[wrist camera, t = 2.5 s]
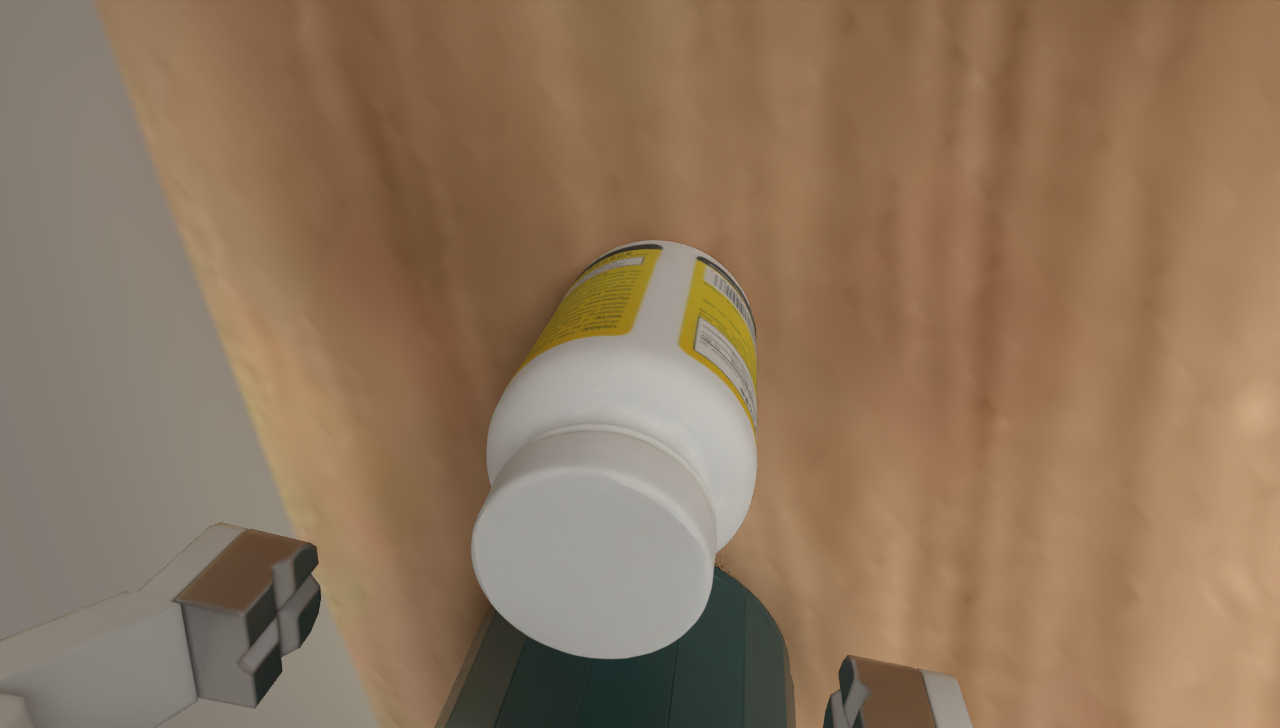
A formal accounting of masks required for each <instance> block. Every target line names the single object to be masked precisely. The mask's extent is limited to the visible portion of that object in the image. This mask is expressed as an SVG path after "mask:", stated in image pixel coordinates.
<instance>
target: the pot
mask: <svg viewBox="0 0 1280 728" xmlns="http://www.w3.org/2000/svg"><path fill="white" fill-rule="evenodd" d="M434 728H796V719H795V702H794V685H793V681H792V677H791V673H790V664H789V657H788V651H787V648H786V645H785V642H784V639H783V636H782V634H781V632H780V630H779V628H778V626H777V624H776V622H775V621H774V619H773V618H772V616H771V615H770V614H769V612H768V611H767V610H766V608H765V607H764V605H763V604H762V603H761V602H760V601H759V600H758V599H757V598H756V597H755V596H754V595H753V594H752V593H751V592H750V591H749V590H748V589H746V588H745V587H744V586H743V585H742V584H740V583H739V582H738V581H737V580H735V579H734V578H732V577H731V576H729V575H728V574H726V573H725V572H723V571H722V570H720V569H718V568H717V567H715V566H714V572H713V582H712V589H711V592H710V595H709V599H708V602H707V604H706V607H705V609H704V611H703V612H702V614H701V616H700V617H699V619H698V620H697V622H696V623H695V624H694V625H693V626H692V627H691V628H690V629H689V630H688V631H687V632H686V633H685V634H684V635H683V636H681V637H680V638H679V639H677V640H676V641H674V642H673V643H671V644H669V645H668V646H666V647H664V648H661V649H659V650H657V651H654V652H652V653H648V654H644V655H640V656H635V657H630V658H622V659H600V658H588V657H582V656H576V655H572V654H569V653H565V652H562V651H560V650H557V649H554V648H552V647H549V646H547V645H544V644H542V643H540V642H538V641H536V640H534V639H532V638H530V637H529V636H527V635H526V634H524V633H523V632H521V631H520V630H518V629H517V628H515V627H514V626H513V625H512V624H511V623H509V622H508V621H507V620H506V619H505V618H504V617H503V616H502V615H501V614H500V613H499V612H498V611H497V610H496V609H495V608H494V606H493V605H492V606H491V608H490V610H489V611H488V613H487V614H486V616H485V617H484V618H483V620H482V622H481V625H480V627H479V629H478V631H477V634H476V636H475V638H474V640H473V642H472V645H471V647H470V649H469V651H468V654H467V656H466V658H465V660H464V662H463V665H462V667H461V669H460V671H459V674H458V676H457V678H456V680H455V683H454V685H453V687H452V689H451V691H450V694H449V696H448V698H447V700H446V703H445V705H444V707H443V709H442V711H441V714H440V716H439V718H438V720H437V723H436V725H435V727H434Z"/></svg>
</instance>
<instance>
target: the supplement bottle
mask: <svg viewBox="0 0 1280 728" xmlns="http://www.w3.org/2000/svg"><path fill="white" fill-rule="evenodd" d="M486 459H487V471H488V477H489V481H490V484H491V490H490V492H489V494H488V496H487V498H486V500H485V503H484V504H483V506H482V508H481V510H480V512H479V514H478V517H477V519H476V522H475V525H474V528H473V533H472V541H471V557H472V564H473V568H474V572H475V575H476V578H477V580H478V583H479V585H480V587H481V589H482V590H483V592H484V594H485V595H486V597H487V598H488V600H489V601H490V603H491V604H492V605H493V606H494V608H495V609H496V610H497V611H498V612H499V613H500V614H501V615H502V616H503V617H504V618H505V619H506V620H507V621H508V622H509V623H511V624H512V625H513V626H514V627H515V628H517V629H518V630H520V631H521V632H523V633H524V634H526V635H527V636H529V637H530V638H532V639H534V640H536V641H538V642H540V643H542V644H544V645H547V646H549V647H552V648H554V649H557V650H560V651H562V652H565V653H569V654H572V655H576V656H582V657H588V658H600V659H622V658H630V657H635V656H640V655H644V654H648V653H652V652H654V651H657V650H659V649H661V648H664V647H666V646H668V645H669V644H671V643H673V642H674V641H676V640H677V639H679V638H680V637H681V636H683V635H684V634H685V633H686V632H687V631H688V630H689V629H690V628H691V627H692V626H693V625H694V624H695V623H696V622H697V620H698V619H699V617H700V616H701V614H702V612H703V611H704V609H705V607H706V604H707V602H708V599H709V595H710V592H711V589H712V582H713V572H714V562H715V554H716V553H718V552H719V551H720V550H721V549H722V548H723V547H724V546H725V545H726V544H727V543H728V542H729V541H730V540H731V539H732V537H733V536H734V535H735V533H736V532H737V531H738V529H739V527H740V526H741V524H742V522H743V520H744V519H745V517H746V514H747V512H748V509H749V507H750V504H751V500H752V496H753V492H754V487H755V481H756V474H757V373H756V329H755V324H754V318H753V314H752V310H751V307H750V304H749V302H748V299H747V297H746V295H745V293H744V291H743V290H742V288H741V287H740V285H739V283H738V282H737V281H736V279H735V278H734V277H733V276H732V274H731V273H730V272H729V271H728V270H727V269H726V268H725V267H724V266H723V265H721V264H720V263H719V262H718V261H716V260H715V259H714V258H712V257H711V256H709V255H707V254H705V253H704V252H702V251H700V250H698V249H696V248H693V247H690V246H687V245H684V244H680V243H676V242H670V241H663V240H646V241H638V242H633V243H629V244H625V245H622V246H619V247H617V248H614V249H612V250H610V251H608V252H606V253H604V254H603V255H601V256H600V257H598V258H597V259H595V260H594V261H593V262H592V263H591V264H589V265H588V266H587V267H586V268H585V270H584V271H583V272H582V273H581V274H580V275H579V276H578V277H577V279H576V280H575V282H574V283H573V285H572V286H571V287H570V289H569V290H568V292H567V293H566V295H565V297H564V298H563V300H562V302H561V303H560V305H559V307H558V308H557V310H556V311H555V313H554V315H553V316H552V318H551V319H550V321H549V323H548V324H547V326H546V327H545V329H544V331H543V332H542V334H541V335H540V337H539V338H538V340H537V341H536V343H535V345H534V346H533V348H532V349H531V351H530V352H529V354H528V355H527V357H526V358H525V360H524V361H523V363H522V364H521V366H520V367H519V369H518V370H517V372H516V373H515V375H514V376H513V378H512V379H511V381H510V382H509V384H508V386H507V387H506V389H505V391H504V393H503V395H502V397H501V399H500V401H499V402H498V404H497V406H496V408H495V411H494V414H493V416H492V419H491V423H490V427H489V431H488V438H487V452H486Z"/></svg>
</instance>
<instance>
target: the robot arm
mask: <svg viewBox="0 0 1280 728" xmlns="http://www.w3.org/2000/svg"><path fill="white" fill-rule="evenodd" d="M318 564H319V562H318V554H317V547H316V546H315V545H313V544H311V543H309V542H304V541H300V540H296V539H292V538H287V537H283V536H279V535H275V534H270V533H266V532H262V531H258V530H254V529H246V528H242V527H238V526H234V525H229V524H225V523H218V524H215V525H212V526H210V527H208V528H207V529H206V530H205V531H204V532H203V533H202V534H200V535H199V536H198V537H197V538H196V539H195V540H194V541H193V542H192V543H190V544H189V545H188V546H187V547H186V548H185V549H184V550H183V551H182V552H181V553H180V554H178V555H177V556H176V557H175V558H174V559H173V560H172V561H171V562H170V563H169V564H167V565H166V566H165V567H164V568H163V569H162V570H161V571H160V572H159V573H157V574H156V575H155V576H154V577H153V578H152V579H151V580H150V581H149V582H148V583H146V584H145V585H144V586H143V587H142V588H141V589H140V590H139V591H138V592H137V593H130V592H123V593H121V594H118V595H116V596H113V597H111V598H108V599H105V600H103V601H100V602H98V603H95V604H92V605H90V606H87V607H84V608H82V609H79V610H77V611H74V612H71V613H69V614H66V615H64V616H61V617H59V618H56V619H53V620H51V621H48V622H46V623H43V624H40V625H38V626H36V627H32V628H30V629H27V630H25V631H22V632H20V633H17V634H14V635H12V636H9V637H7V638H4V639H2V640H0V728H156V727H157V726H159V725H161V724H162V723H164V722H165V721H167V720H168V719H170V718H172V717H173V716H175V715H177V714H178V713H180V712H181V711H183V710H184V709H186V708H187V707H189V706H191V705H192V704H194V703H195V702H197V701H198V698H203V699H208V700H213V701H219V702H224V703H229V704H234V705H239V706H244V707H250V708H256V707H257V705H258V704H259V702H260V701H261V700H262V698H263V697H264V696H265V694H266V693H267V692H268V690H269V689H270V687H271V686H272V685H273V684H274V682H275V681H276V679H277V678H278V677H279V675H280V674H281V673H282V661H281V657H283V656H285V655H287V654H289V653H290V652H292V651H294V650H296V649H298V648H300V647H301V645H302V644H303V642H304V641H305V639H306V638H307V637H308V635H309V634H310V632H311V630H312V628H313V625H314V623H315V620H316V618H317V615H318V613H319V607H320V601H321V590H320V585H319V584H318V582H317V581H316V580H315V578H314V577H313V576H312V575H311V572H312V571H313V570H314V569H315V567H316V566H317V565H318ZM839 681H840V689H839V690H838V691H836V692H834V693H833V694H831V695H830V698H829V702H828V705H827V708H826V711H825V718H824V725H823V728H973V726H972V723H971V720H970V717H969V714H968V711H967V708H966V705H965V702H964V699H963V696H962V693H961V690H960V687H959V684H958V681H957V680H956V679H955V678H954V676H953V675H949V674H944V673H939V672H934V671H928V670H923V669H915V668H912V667H907V666H902V665H897V664H892V663H887V662H882V661H877V660H872V659H867V658H862V657H857V656H852V655H847V656H846V658H845V659H844V660H843V662H842V665H841V668H840V670H839Z"/></svg>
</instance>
